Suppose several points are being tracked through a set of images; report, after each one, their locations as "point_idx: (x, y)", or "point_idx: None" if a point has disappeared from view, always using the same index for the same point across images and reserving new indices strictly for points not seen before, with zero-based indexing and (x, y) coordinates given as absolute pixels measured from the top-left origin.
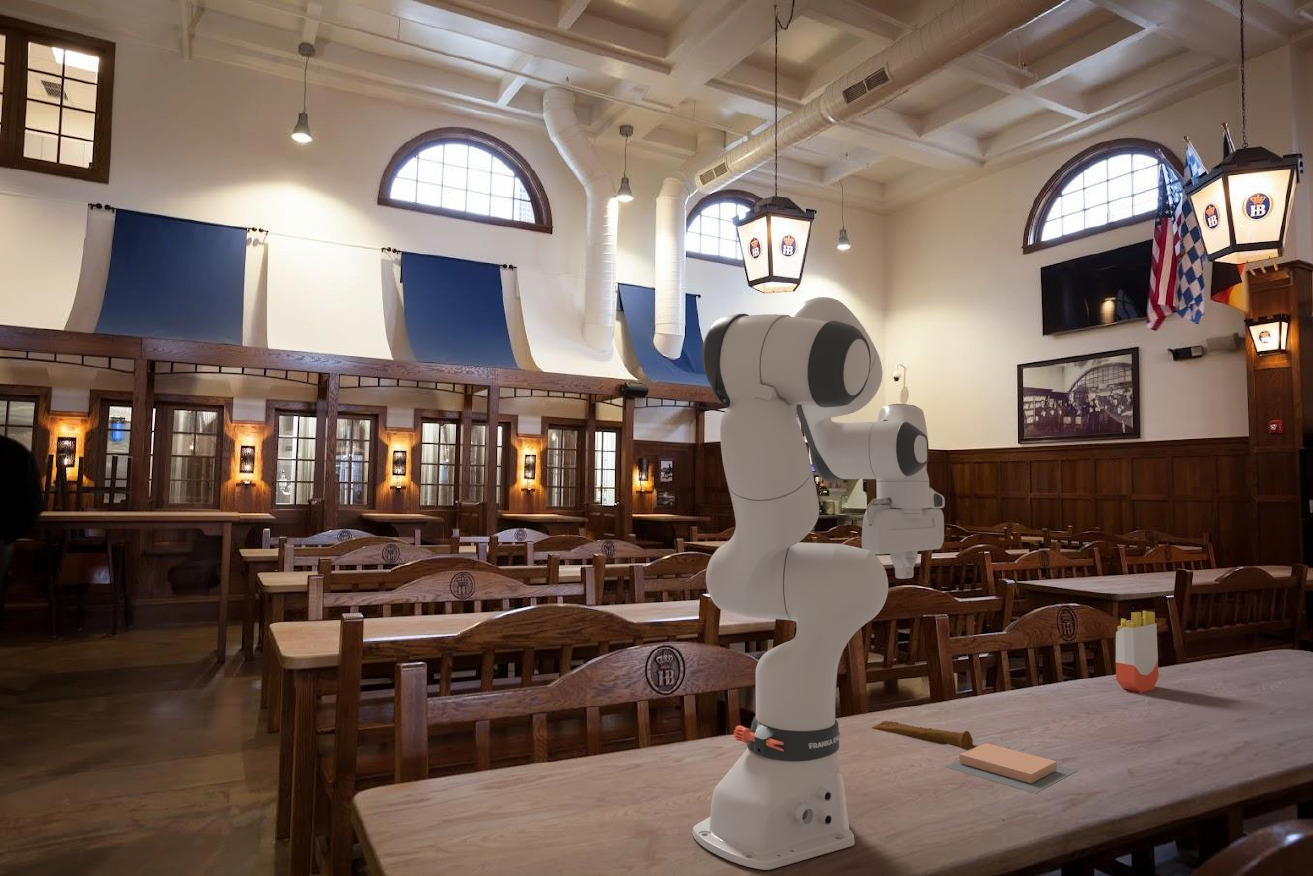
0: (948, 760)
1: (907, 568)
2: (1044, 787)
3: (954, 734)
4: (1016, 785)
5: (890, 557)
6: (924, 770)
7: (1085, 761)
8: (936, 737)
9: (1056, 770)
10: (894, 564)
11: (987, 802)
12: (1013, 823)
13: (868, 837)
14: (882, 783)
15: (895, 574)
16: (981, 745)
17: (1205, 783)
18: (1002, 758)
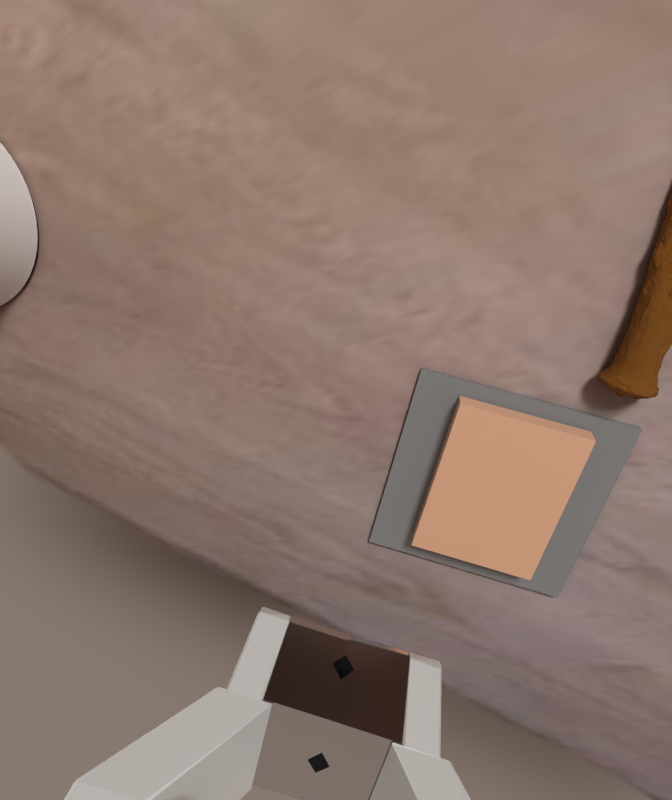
0: (493, 360)
1: (277, 791)
2: (410, 552)
3: (632, 359)
4: (391, 510)
5: (71, 793)
6: (385, 330)
7: (655, 605)
8: (640, 300)
9: None
10: (171, 730)
11: (283, 473)
12: (221, 519)
13: (4, 342)
14: (243, 275)
15: (252, 627)
16: (568, 435)
17: (617, 757)
18: (485, 489)
